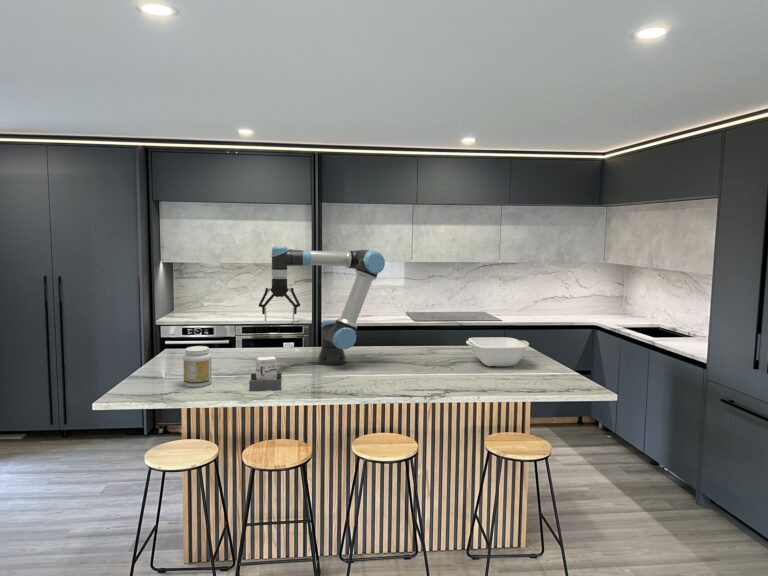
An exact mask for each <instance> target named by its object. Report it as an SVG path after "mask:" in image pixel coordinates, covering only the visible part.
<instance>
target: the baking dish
mask: <svg viewBox="0 0 768 576" xmlns="http://www.w3.org/2000/svg"><path fill="white" fill-rule="evenodd" d="M465 343H466V345H468V346H471V349H472V351H473V354H474V356H475V357H476V358H477V359H478V360H479V361H480V362H481V363H482V364H483V365H485V366H486V365H487V367H490V366H496V367H513V366H515V365H516V364H517V363H519V362H520V360H521V359H522V358H523V356H524V353H525V350H526V349H527V348H529V346H530V342H528V341H526V340H519V339H517V338H513V337H505V336H504V337H501V336H500V337H499V336H498V337H497V336H496V337H491V336H490V337H486V336H485V337H484V336H483V337H469V338H468V339H467V340H466V341H465Z"/></svg>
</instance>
